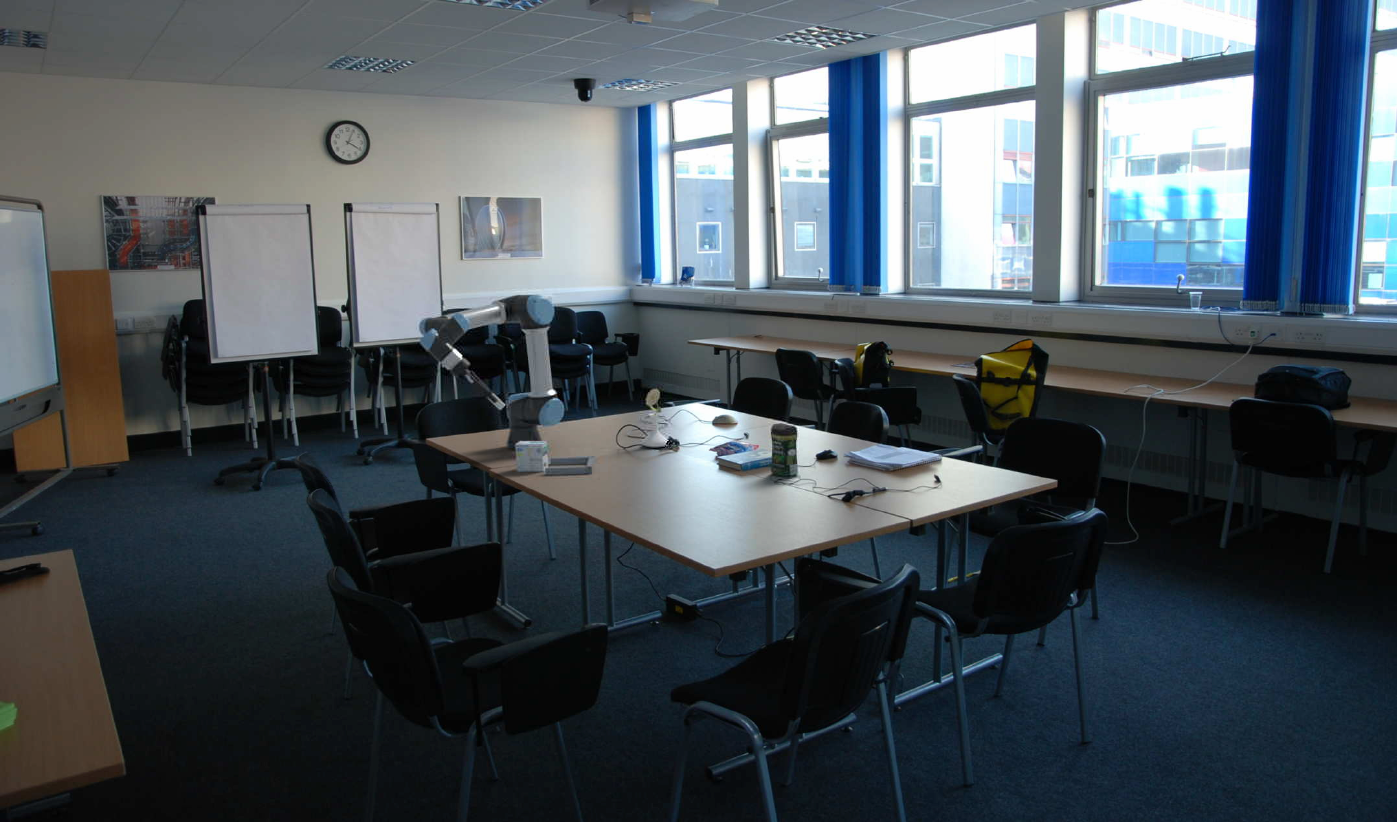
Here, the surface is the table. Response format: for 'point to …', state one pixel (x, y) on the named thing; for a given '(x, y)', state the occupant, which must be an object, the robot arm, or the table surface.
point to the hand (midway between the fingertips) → (502, 407)
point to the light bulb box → (531, 456)
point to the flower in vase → (654, 422)
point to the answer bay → (571, 470)
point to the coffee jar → (784, 450)
